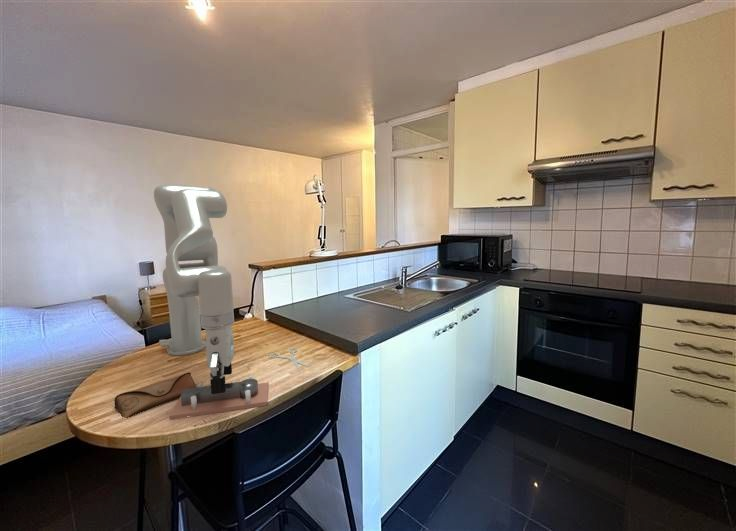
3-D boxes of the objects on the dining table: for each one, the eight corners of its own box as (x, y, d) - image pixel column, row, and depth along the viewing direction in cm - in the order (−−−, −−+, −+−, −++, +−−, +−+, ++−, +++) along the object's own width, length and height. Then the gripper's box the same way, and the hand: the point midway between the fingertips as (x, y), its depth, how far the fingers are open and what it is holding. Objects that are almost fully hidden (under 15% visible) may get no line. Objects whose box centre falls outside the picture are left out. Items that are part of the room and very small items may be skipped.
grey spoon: (180, 408, 76) (179, 397, 76) (186, 397, 81) (185, 387, 80) (257, 397, 81) (256, 386, 80) (258, 387, 85) (258, 377, 85)
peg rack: (169, 419, 73) (167, 404, 73) (182, 397, 83) (181, 383, 82) (266, 405, 79) (266, 390, 78) (268, 385, 88) (267, 372, 88)
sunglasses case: (121, 420, 73) (116, 392, 74) (117, 424, 77) (112, 397, 79) (202, 390, 86) (196, 367, 88) (195, 394, 90) (189, 372, 92)
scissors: (292, 346, 116) (321, 363, 101) (292, 348, 116) (321, 366, 101) (264, 354, 109) (291, 374, 94) (265, 356, 109) (292, 376, 94)
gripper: (228, 329, 70) (232, 399, 73) (238, 308, 87) (242, 366, 89) (191, 332, 69) (197, 404, 71) (209, 310, 85) (213, 369, 87)
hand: (222, 383), depth 80 cm, fingers open, 9 cm apart
